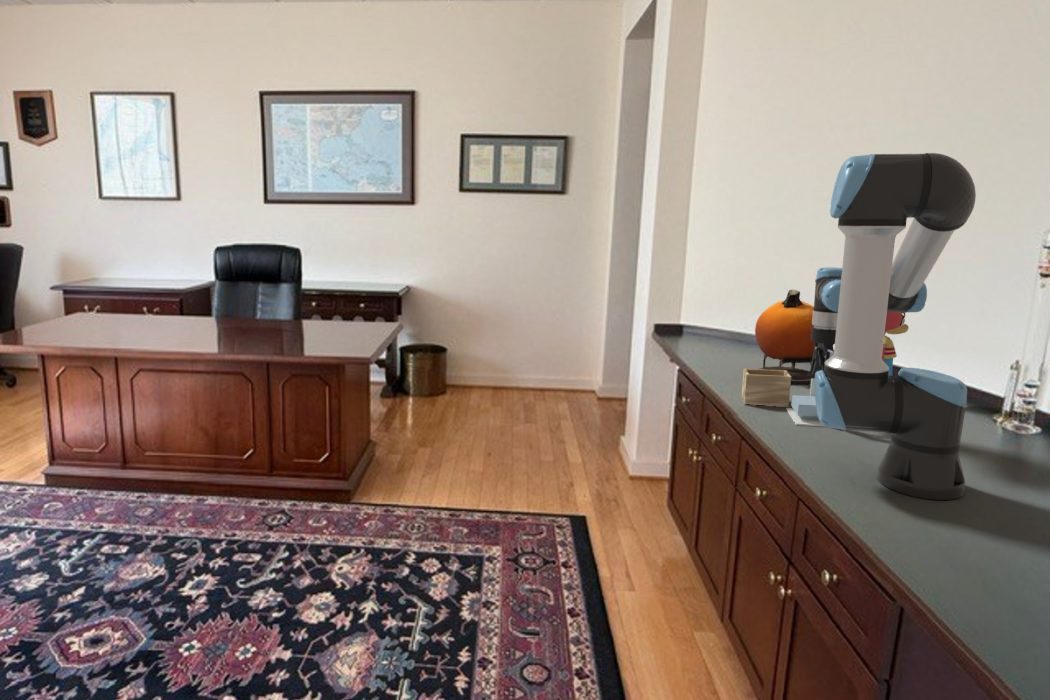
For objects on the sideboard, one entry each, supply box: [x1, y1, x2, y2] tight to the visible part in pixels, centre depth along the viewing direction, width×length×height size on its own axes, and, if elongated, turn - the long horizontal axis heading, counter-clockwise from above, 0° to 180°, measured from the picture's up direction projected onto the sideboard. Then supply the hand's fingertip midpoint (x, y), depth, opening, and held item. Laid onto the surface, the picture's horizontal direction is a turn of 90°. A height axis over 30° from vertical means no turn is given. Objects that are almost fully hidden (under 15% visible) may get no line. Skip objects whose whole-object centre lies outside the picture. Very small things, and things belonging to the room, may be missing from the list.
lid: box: [791, 395, 819, 420], centre depth 171 cm, size 9×13×4 cm
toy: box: [882, 312, 909, 376], centre depth 190 cm, size 15×10×30 cm
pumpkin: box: [754, 289, 815, 386], centre depth 212 cm, size 22×22×30 cm
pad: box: [785, 407, 826, 428], centre depth 171 cm, size 14×14×1 cm
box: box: [741, 368, 792, 408], centre depth 185 cm, size 8×12×9 cm, turn 78°
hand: (819, 407), depth 171 cm, fingers open, 11 cm apart
